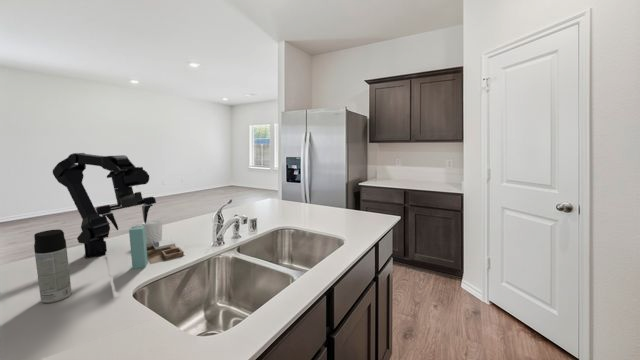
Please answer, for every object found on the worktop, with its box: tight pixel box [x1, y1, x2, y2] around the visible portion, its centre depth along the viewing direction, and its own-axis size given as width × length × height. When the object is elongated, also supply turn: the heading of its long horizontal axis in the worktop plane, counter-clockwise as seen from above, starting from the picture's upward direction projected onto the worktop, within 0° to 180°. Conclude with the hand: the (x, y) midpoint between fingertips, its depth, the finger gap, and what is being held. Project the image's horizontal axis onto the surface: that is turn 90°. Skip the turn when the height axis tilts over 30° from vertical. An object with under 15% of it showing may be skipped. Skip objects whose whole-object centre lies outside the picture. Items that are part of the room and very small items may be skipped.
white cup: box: [141, 219, 163, 246], centre depth 127 cm, size 8×8×10 cm
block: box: [128, 225, 149, 270], centre depth 100 cm, size 4×4×15 cm
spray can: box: [33, 228, 72, 304], centre depth 80 cm, size 7×7×20 cm
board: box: [146, 244, 186, 265], centre depth 113 cm, size 12×18×2 cm, turn 41°
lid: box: [151, 238, 176, 250], centre depth 117 cm, size 7×7×3 cm
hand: (131, 226), depth 108 cm, fingers open, 9 cm apart
